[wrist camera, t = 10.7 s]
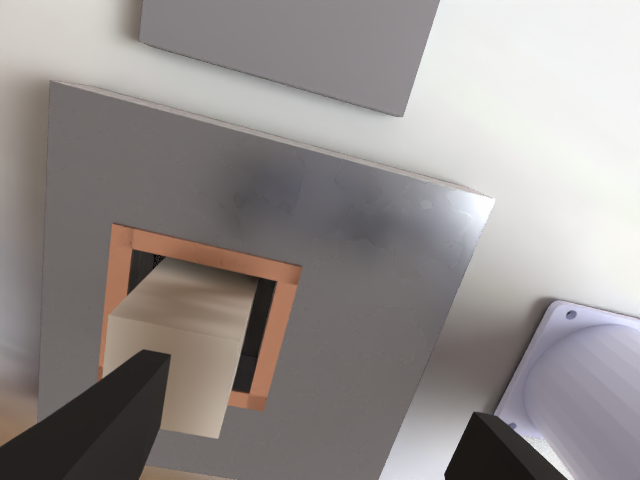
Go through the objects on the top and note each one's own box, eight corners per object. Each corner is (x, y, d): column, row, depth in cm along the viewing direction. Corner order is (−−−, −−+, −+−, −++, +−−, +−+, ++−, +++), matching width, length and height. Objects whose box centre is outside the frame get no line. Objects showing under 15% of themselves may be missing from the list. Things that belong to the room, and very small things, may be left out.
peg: (261, 267, 17) (240, 341, 12) (245, 339, 19) (218, 438, 13) (175, 247, 17) (108, 315, 11) (163, 322, 18) (98, 418, 12)
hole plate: (467, 187, 16) (496, 200, 14) (362, 457, 21) (370, 502, 19) (91, 86, 15) (47, 80, 12) (69, 406, 19) (34, 449, 17)
